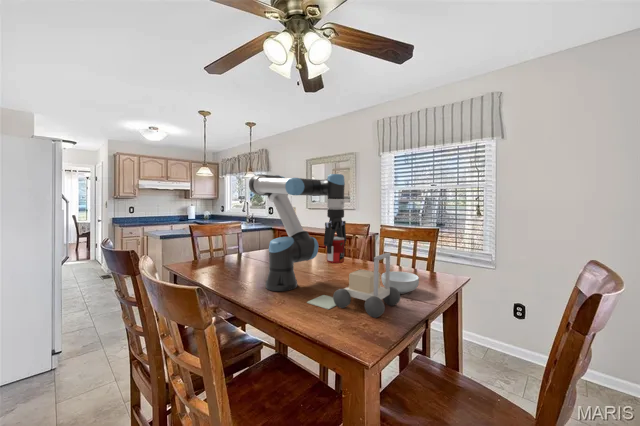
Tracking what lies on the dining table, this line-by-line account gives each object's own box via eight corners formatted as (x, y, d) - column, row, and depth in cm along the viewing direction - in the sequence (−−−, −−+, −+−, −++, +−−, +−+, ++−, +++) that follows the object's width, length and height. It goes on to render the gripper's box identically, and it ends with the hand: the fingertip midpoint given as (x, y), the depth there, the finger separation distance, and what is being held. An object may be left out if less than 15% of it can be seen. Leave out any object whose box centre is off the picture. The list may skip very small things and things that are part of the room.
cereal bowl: (381, 284, 139) (381, 270, 138) (415, 286, 135) (416, 272, 135) (381, 295, 122) (381, 279, 122) (421, 298, 119) (421, 282, 118)
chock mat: (306, 302, 113) (306, 301, 113) (323, 295, 121) (323, 294, 121) (328, 309, 106) (328, 308, 106) (344, 301, 115) (344, 300, 115)
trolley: (333, 305, 110) (333, 252, 109) (354, 294, 123) (355, 246, 122) (382, 319, 97) (383, 259, 96) (400, 305, 110) (401, 252, 109)
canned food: (343, 264, 121) (343, 239, 121) (325, 263, 123) (325, 238, 122) (344, 260, 129) (345, 236, 128) (327, 259, 130) (328, 236, 130)
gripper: (329, 209, 114) (329, 264, 115) (354, 208, 131) (353, 256, 132) (315, 209, 119) (315, 262, 120) (340, 208, 135) (340, 254, 136)
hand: (335, 259), depth 126 cm, fingers closed on canned food, 8 cm apart
